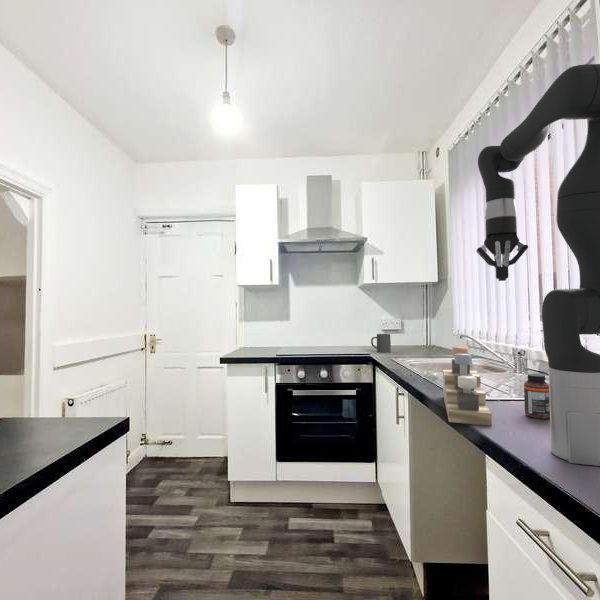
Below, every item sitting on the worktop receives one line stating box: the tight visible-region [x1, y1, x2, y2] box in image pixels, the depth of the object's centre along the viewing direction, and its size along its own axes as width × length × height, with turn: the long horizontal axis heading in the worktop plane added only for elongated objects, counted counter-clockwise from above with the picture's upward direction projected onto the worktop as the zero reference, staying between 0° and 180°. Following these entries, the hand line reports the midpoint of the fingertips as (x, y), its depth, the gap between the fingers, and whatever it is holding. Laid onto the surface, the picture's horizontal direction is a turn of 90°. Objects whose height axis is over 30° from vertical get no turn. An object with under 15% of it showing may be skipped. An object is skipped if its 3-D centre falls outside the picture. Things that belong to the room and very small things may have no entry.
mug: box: [370, 333, 392, 354], centre depth 247 cm, size 14×9×12 cm
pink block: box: [451, 346, 469, 357], centre depth 115 cm, size 5×5×7 cm
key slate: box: [454, 353, 473, 376], centre depth 106 cm, size 5×5×7 cm
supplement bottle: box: [523, 372, 550, 420], centre depth 99 cm, size 6×6×11 cm
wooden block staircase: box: [442, 358, 493, 426], centre depth 106 cm, size 28×10×13 cm, turn 161°
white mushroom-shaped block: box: [458, 376, 477, 393], centre depth 97 cm, size 5×5×7 cm
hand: (502, 280), depth 100 cm, fingers closed
